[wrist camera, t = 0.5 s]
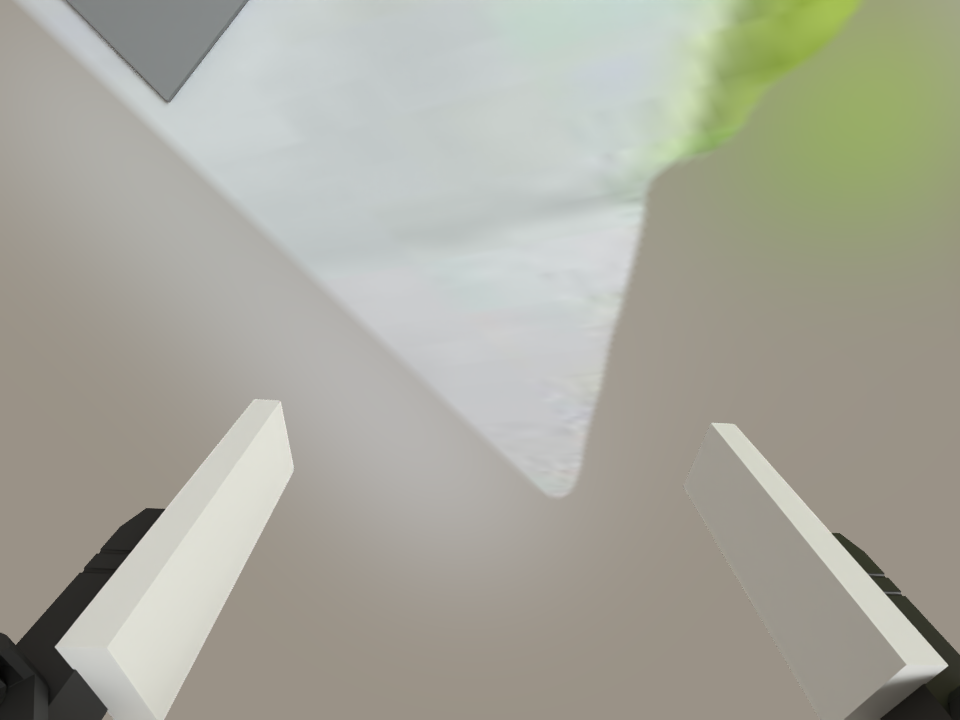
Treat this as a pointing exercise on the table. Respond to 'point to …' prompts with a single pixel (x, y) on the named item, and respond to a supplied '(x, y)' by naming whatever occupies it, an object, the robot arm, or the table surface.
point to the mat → (161, 34)
